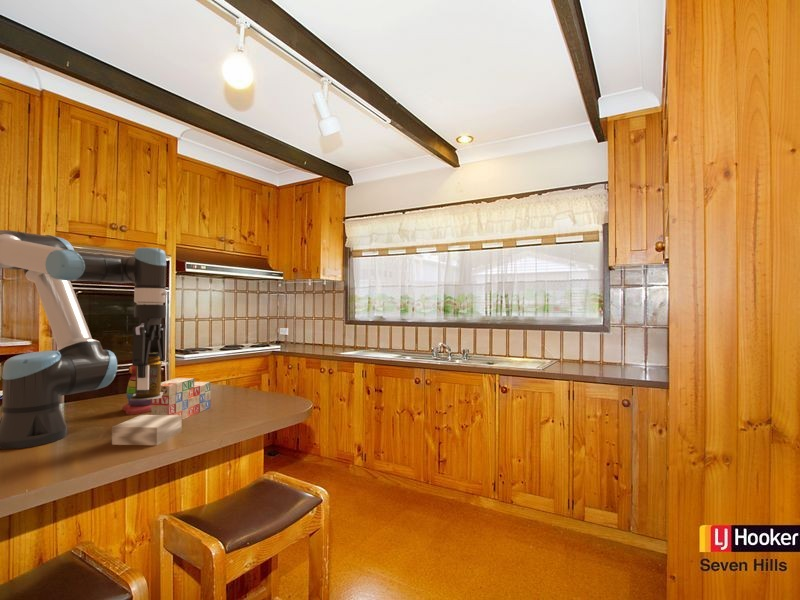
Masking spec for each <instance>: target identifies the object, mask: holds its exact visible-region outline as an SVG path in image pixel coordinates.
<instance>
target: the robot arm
mask: <svg viewBox="0 0 800 600" xmlns="http://www.w3.org/2000/svg"><path fill="white" fill-rule="evenodd" d="M167 265H168V264H167V254H166V251H165V250H164V249H161V248H157V247H137V248H136V249H135V250H134V255H133V256H132V255H131V256H122V255H120V256H119V255H113V254H105V253H95V252H86V251H85V252H84V251H77V250H75V249H74V247H73V245H72V243H70V242H69V241H68V240H66V239H65V238H63V237H58V236H54V235H52V234H50V235H49V234H45V235H44V234H36V233H31V232H30V233H29V232H24V231H17V230H9V229H8V230H7V229H6V230H5V229H3V230H2V229H1V230H0V269H5V270H18V271H23V273H24V276H25V278H26V280H27V281H30V282H31V283H34V285H35V288H36V290H37V294H38V296H39V298H40V302H41V304H42V307H43V310H44V313H45V315H46V318H47V321H48V324H49V327H50V330H51V332H52V335H53V338H54V340H55V343H56V346H57V350H42V351H33V352H27V353H26V352H25V353H22V354H18V355H15V356H12V357H10V358H8V359H7V360H5V362H4V363H3V369H2V375H1V378H2V414H1V416H0V449H1V450H11V449H12V450H13V449H15V448H16V449H22V448H31V447H36V446H42V445H46V444H49V443H53V442H57V441H58V440H59V441H60V440H62V439H63V438H65V437H66V436H67V435H68V425H67V423H66V420H65V418H64V416H63V413H62V411H61V409H60V401H61V400H60V397H62V396H66V395H67V396H68V395H73V394H79V393H85V392H91V391H92V392H93V391H96V390H99V389H102V388H103V389H104V388H105V387H108V386H109V385H111V383H112V382H113V381H114V379H115V377H116V375H117V372H118V359H117V356H116V355H115V352H113V351H111V350H110V349H109V350H108V349H103V346H102V344H101V342H100V341H99V340H97V339H93V338H92V335H91V332H90V329H89V327H88V323H87V322H86V319H85V317H84V313H83V311H82V309H81V306H80V303H79V301H78V298H77V295H76V292H75V289H74V288H73V285H72V282H71V281H78V282H101V283H102V282H103V283H113V284H130V283H131V284H132V283H133V284H134V285H133V286H134V291H133V294H134V295H133V296H134V297H133V302H134V303H136V304H135V305H134V307H133V316H134V318H135V319H139V323H138V326H133V327H132V334H133V338H132V339H133V340H132V355H131V356H132V358H131V362H132V364H133V366H137V390H149V365H147V364H148V357H149V352H159V353H160V355H159V356H160V360H159V361H160V362H165V361H166V341H165V340H166V338H165V337H166V336H165V333H166V324H161V319H164V318H166V316H167V313H166V311H167V309H166V307H167V306H166V305H165V304H164V303H166V300H167V299H166V296H167V295H168V293H167V291H166V290H167V286H166V284H167ZM132 364H131V365H132ZM16 449H15V450H16Z"/></svg>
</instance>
